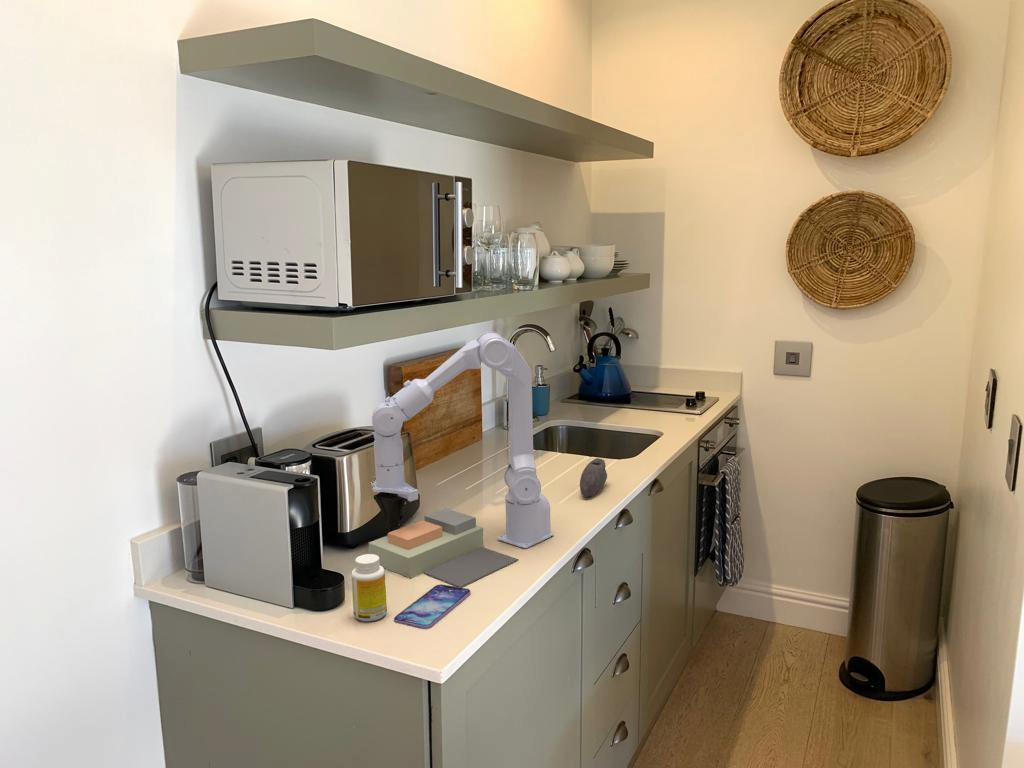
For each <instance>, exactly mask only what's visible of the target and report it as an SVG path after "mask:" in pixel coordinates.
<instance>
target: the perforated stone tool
mask: <svg viewBox="0 0 1024 768" xmlns="http://www.w3.org/2000/svg"><path fill="white" fill-rule="evenodd" d="M606 466H607V465H606V461H605V460H604V459H602V458H594V459H592V461H590V462H589V463H587V464H586V466H585V467H584V469H583V470H582V473H581V476H580V479H579V489H580V493H581V494H582V497H585V498H590V497H592V496H594V495H595V494H596V492H597V493H598V492H599V491H600V490H602V488H603V486H604V485H605V484H606V482H607V479H608V473H607V471H606ZM589 496H590V497H589Z"/></svg>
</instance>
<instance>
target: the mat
mask: <svg viewBox="0 0 1024 768" xmlns="http://www.w3.org/2000/svg"><path fill="white" fill-rule="evenodd" d="M517 560H518V561H519V558H516V557H513V556H510V555H507V554H504V553H501V552H498V551H495V550H492V549H490V548H487V547H484V546H482V547H480V548H478V549H475V550H473V551H471V552H469V553H466V554H464V555H462V556H459V557H457V558H455V559H453V560H450V561H448V562H446V563H443V564H441V565H439V566H436V567H434V568H432V569H430V570H427V571H425V572H423V574H424V575H426V576H428V577H431V578H434V579H437V580H438V581H440V582H444V583H446V584H447V585H448V584H449V585H450V586H455V587H460V588H465V587H466V586H468V585H470V584H473V583H475V582H476V581H478V580H481V579H483V578H485V577H487V576H489V575H491V574H493V573H495V572H498V571H499V570H501V569H504V568H506V567H508V566H510V565H512V564H514V563H516V562H515V561H517ZM518 561H517V562H518ZM513 562H514V563H513ZM511 563H512V564H511ZM509 564H510V565H509ZM507 565H508V566H507ZM505 566H506V567H505Z"/></svg>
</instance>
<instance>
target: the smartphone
mask: <svg viewBox="0 0 1024 768" xmlns="http://www.w3.org/2000/svg"><path fill="white" fill-rule="evenodd" d="M469 596H471V589H469V588H466V587H462V588H460V587H456V586H453V585H450V584H449V585H448V584H443V583H441V584H436V585H434V586H433V587H432V588H430V589H429V590H428V591H426V592H425V593H424V594H422V595H421V596H420V597H418V598H417V599H416V600H414V602H412V603H411V604H410V605H408V606H406V608H404V609H403V610H402V611H400V612H399V613H398V614H396V615H395V616H394V617H393V622H394V623H396V624H400V625H405V626H409V627H412V628H418V629H422V630H429V629H432V628H433V627H434V626H435V625H437V624H438V623H439V622H440V621H442V619H444V618H445V617H446V616H448V615H449V613H451V612H452V611H453V610H454V609H456V608H457V607H458V606H459V605H460V604H462V603H463V602H464V601H465V600H466V599H468V598H469Z"/></svg>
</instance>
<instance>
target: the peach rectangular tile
mask: <svg viewBox="0 0 1024 768" xmlns="http://www.w3.org/2000/svg"><path fill="white" fill-rule="evenodd" d="M387 536H388V543H391V544H393V545H396V546H399V547H401V548H404V549H407V550H410V549H412V548H415V547H417V546H420V545H422V544H425V543H427V542H430V541H432V540H435V539H437V538H440V537H442V536H443V533H442V527H441V526H438V525H435V524H432V523H429V522H426V521H425V520H422V519H421V520H418V521H417V522H413V523H411V524H408V525H405V526H402V527H400V528H398V529H395V530H394V529H393V530H392V531H390V532H388V533H387Z"/></svg>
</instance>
